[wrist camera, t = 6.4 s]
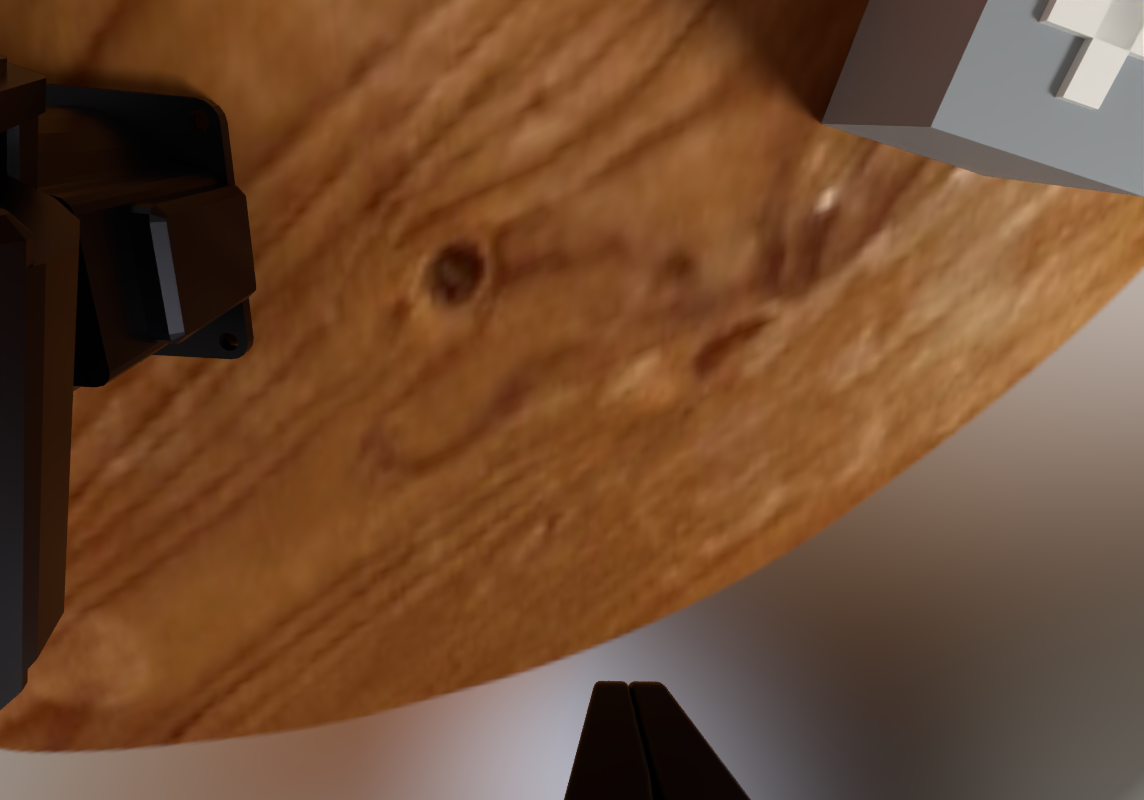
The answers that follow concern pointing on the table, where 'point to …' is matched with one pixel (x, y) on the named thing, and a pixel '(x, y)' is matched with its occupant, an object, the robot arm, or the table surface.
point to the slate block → (1003, 87)
